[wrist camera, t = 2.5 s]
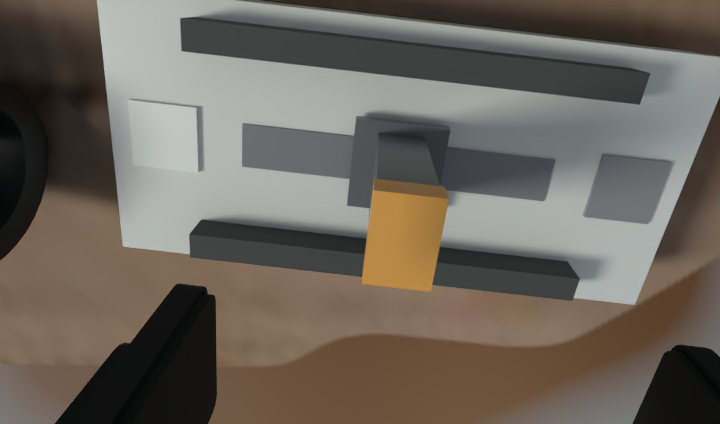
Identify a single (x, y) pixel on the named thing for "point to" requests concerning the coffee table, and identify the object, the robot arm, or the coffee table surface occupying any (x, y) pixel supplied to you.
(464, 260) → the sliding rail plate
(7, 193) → the muzzle brake
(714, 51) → the coffee table surface
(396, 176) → the toggle
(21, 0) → the coffee table surface
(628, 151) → the breaker panel
